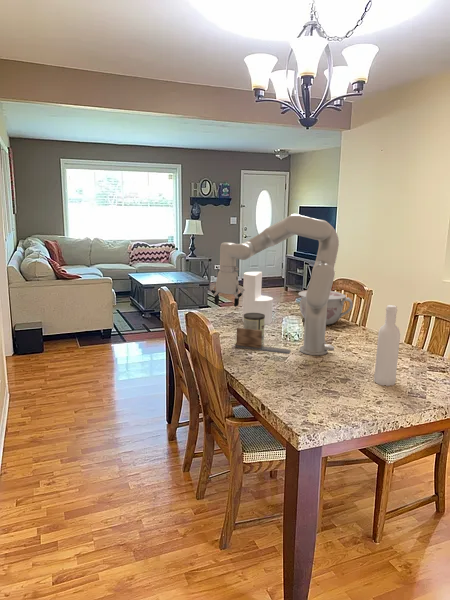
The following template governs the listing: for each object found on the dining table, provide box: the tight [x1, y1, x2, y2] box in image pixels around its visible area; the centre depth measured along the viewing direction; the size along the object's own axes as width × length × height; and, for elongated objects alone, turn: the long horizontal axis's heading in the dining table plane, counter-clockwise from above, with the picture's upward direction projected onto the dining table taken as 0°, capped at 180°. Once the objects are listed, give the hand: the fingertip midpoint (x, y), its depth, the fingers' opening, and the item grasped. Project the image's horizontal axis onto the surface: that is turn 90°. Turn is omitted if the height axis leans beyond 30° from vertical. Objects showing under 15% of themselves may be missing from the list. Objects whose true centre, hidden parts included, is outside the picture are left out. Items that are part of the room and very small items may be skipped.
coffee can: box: [243, 313, 265, 346], centre depth 218 cm, size 10×10×14 cm
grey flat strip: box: [235, 344, 291, 355], centre depth 209 cm, size 26×4×1 cm, turn 71°
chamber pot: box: [297, 289, 354, 326], centre depth 260 cm, size 28×28×21 cm
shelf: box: [235, 327, 263, 348], centre depth 211 cm, size 12×3×8 cm, turn 71°
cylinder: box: [241, 271, 274, 326], centre depth 259 cm, size 17×17×28 cm
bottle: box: [373, 304, 401, 387], centre depth 169 cm, size 8×8×30 cm
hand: (226, 305), depth 212 cm, fingers open, 9 cm apart
